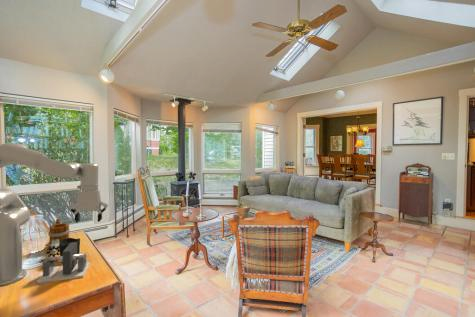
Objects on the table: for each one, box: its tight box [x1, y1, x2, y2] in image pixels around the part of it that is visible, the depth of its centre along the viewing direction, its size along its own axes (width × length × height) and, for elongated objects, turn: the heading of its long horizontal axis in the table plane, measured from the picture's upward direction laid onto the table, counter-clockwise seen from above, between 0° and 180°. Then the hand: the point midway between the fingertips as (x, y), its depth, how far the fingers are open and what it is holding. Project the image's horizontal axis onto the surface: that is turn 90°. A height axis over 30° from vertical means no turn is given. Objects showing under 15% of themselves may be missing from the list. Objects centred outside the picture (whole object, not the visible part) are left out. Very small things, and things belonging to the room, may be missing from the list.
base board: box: [36, 261, 91, 284], centre depth 115 cm, size 18×13×1 cm
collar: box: [62, 242, 78, 275], centre depth 115 cm, size 3×11×11 cm, turn 20°
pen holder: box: [59, 237, 81, 256], centre depth 130 cm, size 9×9×10 cm
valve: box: [45, 239, 60, 257], centre depth 135 cm, size 7×7×12 cm
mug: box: [47, 218, 71, 248], centre depth 146 cm, size 11×16×15 cm, turn 43°
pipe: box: [42, 252, 87, 276], centre depth 115 cm, size 16×5×8 cm, turn 110°
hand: (88, 221), depth 119 cm, fingers open, 9 cm apart
